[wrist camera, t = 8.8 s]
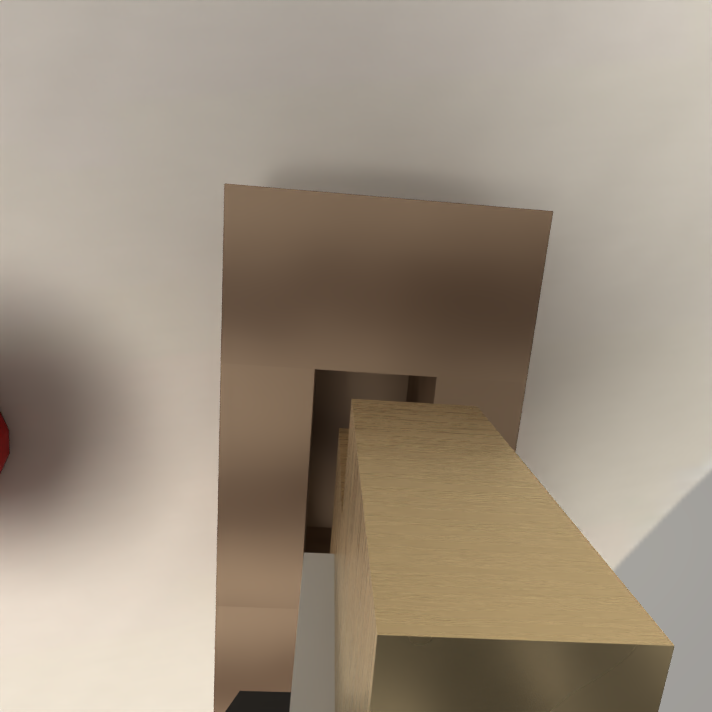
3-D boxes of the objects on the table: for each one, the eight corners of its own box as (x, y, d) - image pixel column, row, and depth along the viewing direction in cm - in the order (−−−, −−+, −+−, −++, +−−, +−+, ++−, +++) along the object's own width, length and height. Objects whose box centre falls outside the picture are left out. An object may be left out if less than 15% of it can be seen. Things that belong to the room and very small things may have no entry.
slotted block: (253, 196, 22) (224, 183, 16) (494, 216, 22) (553, 211, 16) (240, 618, 26) (213, 730, 20) (440, 625, 27) (470, 736, 21)
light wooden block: (345, 343, 15) (377, 635, 4) (430, 349, 15) (673, 646, 4) (318, 699, 18) (295, 1434, 7) (390, 701, 18) (478, 1423, 7)
